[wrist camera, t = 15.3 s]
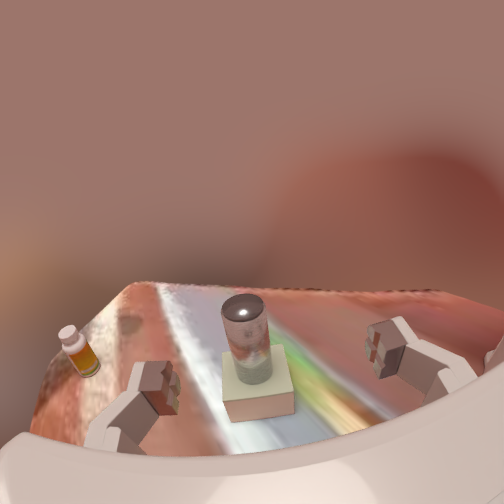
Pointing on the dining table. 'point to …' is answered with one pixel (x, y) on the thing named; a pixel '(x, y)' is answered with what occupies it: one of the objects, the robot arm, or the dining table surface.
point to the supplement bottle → (79, 351)
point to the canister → (248, 337)
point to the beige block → (258, 390)
